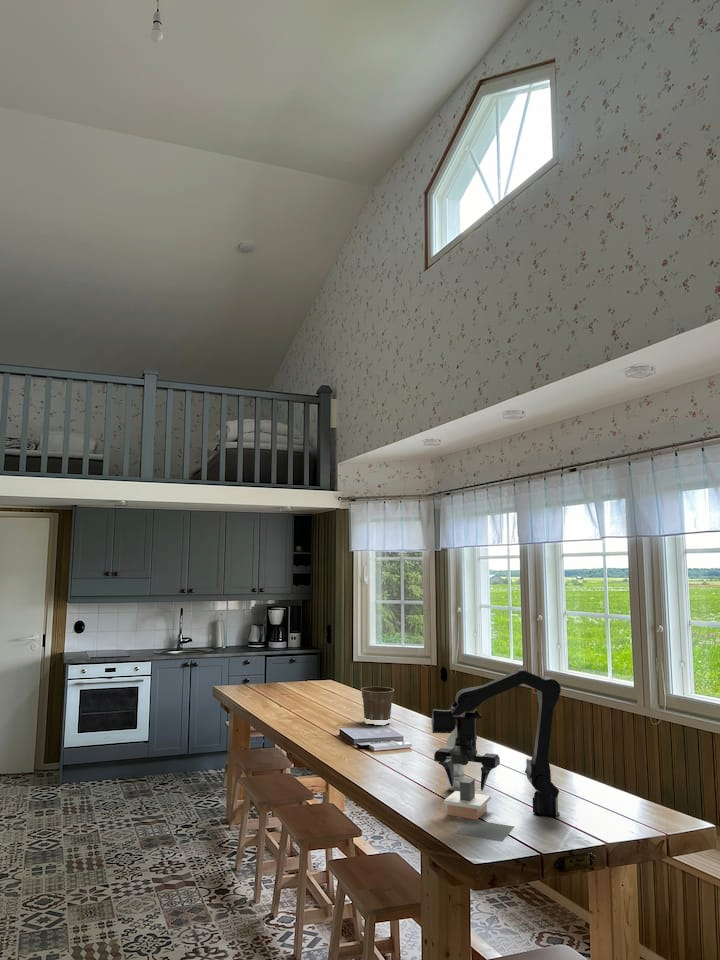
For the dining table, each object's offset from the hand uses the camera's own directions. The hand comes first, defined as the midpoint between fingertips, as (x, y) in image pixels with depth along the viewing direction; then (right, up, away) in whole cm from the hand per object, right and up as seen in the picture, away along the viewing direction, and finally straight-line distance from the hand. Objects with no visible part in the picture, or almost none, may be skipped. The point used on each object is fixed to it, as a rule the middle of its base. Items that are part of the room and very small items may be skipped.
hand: (467, 788), depth 214 cm
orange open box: (0, -8, -1) cm, 8 cm away
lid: (0, -4, -1) cm, 4 cm away
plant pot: (-23, -26, +132) cm, 136 cm away
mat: (+3, -5, -16) cm, 17 cm away
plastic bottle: (0, -11, +23) cm, 26 cm away
